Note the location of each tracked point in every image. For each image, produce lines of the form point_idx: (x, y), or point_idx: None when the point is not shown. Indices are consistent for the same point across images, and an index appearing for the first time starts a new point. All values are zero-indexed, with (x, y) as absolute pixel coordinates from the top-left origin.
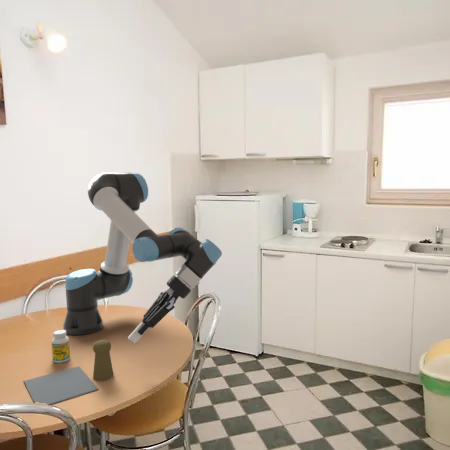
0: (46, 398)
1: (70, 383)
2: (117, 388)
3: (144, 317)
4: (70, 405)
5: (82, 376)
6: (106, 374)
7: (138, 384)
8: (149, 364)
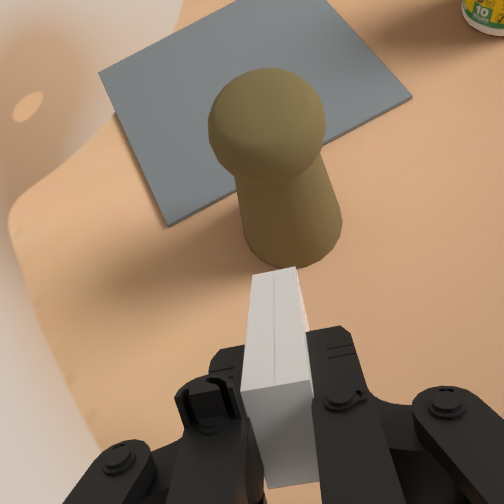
0: (148, 76)
1: None
2: (157, 306)
3: (372, 407)
4: (85, 160)
5: None
6: (247, 233)
7: (167, 406)
8: None
